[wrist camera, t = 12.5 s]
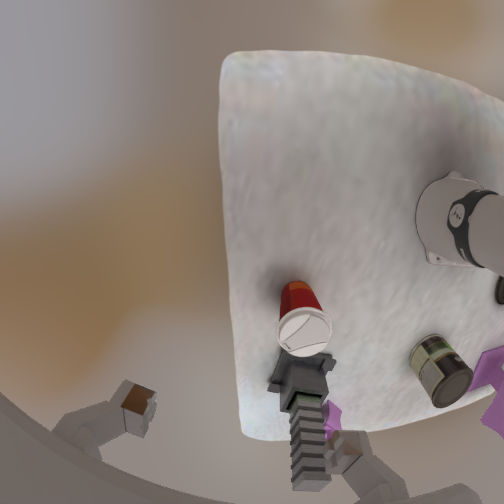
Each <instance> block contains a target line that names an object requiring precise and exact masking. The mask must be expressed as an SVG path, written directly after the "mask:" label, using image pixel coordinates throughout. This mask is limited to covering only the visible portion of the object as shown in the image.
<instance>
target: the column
mask: <svg viewBox="0 0 504 504" xmlns="http://www.w3.org/2000/svg"><path fill="white" fill-rule="evenodd" d="M320 402H321V401H320V398H319V397H318V396H311V395H304V394H298V393H297V395H296V397H295V399H294V401H293V403H292V405H291V406H290V409H289V414H290V420H289V423H291V429H290V434H291V441H290V445H291V446H292V447H291V448H292V452H291V454H290V455H291V457H292V465H291V469H292V478H291V482H292V483H293V491H312V492H319V491H320V490H322V489H323V488H324V487H325V486H326V485H327V484H328V483H329V482H331V474H326V471H325V462H326V461H327V459H326V458H325V457H324V455H323V448H324V445H325V443H326V438H325V434H326V430H324V426H323V423H324V419H322V414H321V413H322V408H320Z"/></svg>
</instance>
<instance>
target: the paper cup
mask: <svg viewBox="0 0 504 504" xmlns="http://www.w3.org/2000/svg"><path fill="white" fill-rule="evenodd" d="M331 333H332V321H331V319H330V317H329V316H328V315H327V314H326V313H325V312H323V310H322V308H321V306H320V304H319V302H318V300H317V298H316V297H315V295H314V293H313V291H312V289H311V288H310V286H309V285H308V284H306V283H304V282H302V281H294V282H291V283H289V284H288V285H286V286H285V288H284V289H283V291H282V295H281V305H280V319H279V323H278V326H277V330H276V336H277V340H278V342H279V344H280V345H281V346H282V347H283V348H284V349H285V350H286V351H288V353H290V354H292V355H294V356H298V357H307V356H311V355H314V354H317V353H318V352H320V351H321V350H322V349H323V348H324V347H325V346H326V345H327V343H328V340H329V338H330V336H331Z"/></svg>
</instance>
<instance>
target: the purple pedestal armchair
mask: <svg viewBox="0 0 504 504" xmlns="http://www.w3.org/2000/svg"><path fill="white" fill-rule="evenodd" d="M503 362H504V346H501V347H498V348H495V349H492V350H489V351H485V352H482V355H481V357H480V359H479V362H478V364H477V366H476V368H475V371H474V377H473V381H472V383H471V385H470V387H469V389H468V390H467V392H468V391H471V390H474V389H477V388H479V387H482V386H485V385H487V384H491V385H492V386H493V387H494V389H495V390H496V391H497V392H498V393H497V395H496V397H495V399H494V400H493V402H492V404H491V405H490V407H489V408H488V409H487V410H486V412H485V413H484V415H483V417H482V418H481V419H480V420H481V421H482V423H483V424H484V425H486V426H488V427H490V428H491V429H493V430H495V431H496V432H497V433H499V434H500V435H501V436H502V437H503V439H504V371H503V370H502V369H501V366H502V364H503Z"/></svg>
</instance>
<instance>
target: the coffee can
mask: <svg viewBox="0 0 504 504" xmlns="http://www.w3.org/2000/svg"><path fill="white" fill-rule="evenodd" d="M409 364H410V367H411V368H412V369H413V371H414V372H415V374H416V375H417V377H418V379H419V380H420V382H421V384H422V385H423V387H424V389H425V390H426V392H427V394H428V395H429V397H430V399H431V400H432V403H433V405H434V407H436V408H444V407H447V406H449V405H451V404H453V403H455V402H456V401H457V400H459V399H460V398H461V397H462V396H463V395H464V394H465V393H466V391H467V390H468V389H469V387H470V385H471V383H472V381H473V377H474V373H473V371H472V370H471V369H470V368H469V367H468V366H467V365H466V363H465V362H464V361H463V360H462V359H461V358H460V357H459V355H458V354H457V353H456V352H455V351H454V350H453V349H452V348H451V346H450V345H449V344H448V343H447V342H446V341H445V340H444V338H443V337H442V336H440V335H437V334H434V335H430V336H428V337H426V338H424V339H423V340H421V341H420V342H419V343H418V344H417V345H416V346H415V348H414V349H413V351H412V352H411V355H410V358H409Z"/></svg>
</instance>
